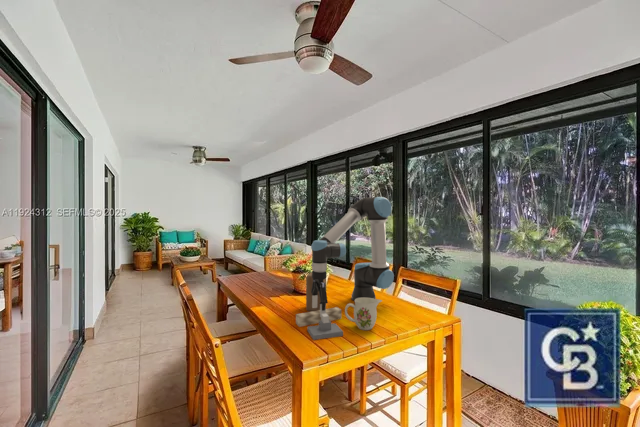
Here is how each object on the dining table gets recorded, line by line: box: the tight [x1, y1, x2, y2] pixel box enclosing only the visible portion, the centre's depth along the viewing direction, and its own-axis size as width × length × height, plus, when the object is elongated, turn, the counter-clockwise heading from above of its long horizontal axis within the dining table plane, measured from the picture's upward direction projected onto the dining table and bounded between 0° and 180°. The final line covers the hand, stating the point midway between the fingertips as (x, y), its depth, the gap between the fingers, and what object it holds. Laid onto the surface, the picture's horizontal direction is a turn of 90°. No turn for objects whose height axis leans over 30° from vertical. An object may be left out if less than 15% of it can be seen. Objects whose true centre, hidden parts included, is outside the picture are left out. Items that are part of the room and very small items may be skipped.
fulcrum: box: [307, 314, 344, 341], centre depth 136 cm, size 14×10×8 cm
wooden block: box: [305, 271, 327, 312], centre depth 169 cm, size 10×10×20 cm
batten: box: [295, 306, 343, 328], centre depth 151 cm, size 24×4×5 cm, turn 117°
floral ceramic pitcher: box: [344, 297, 383, 331], centre depth 143 cm, size 11×18×14 cm, turn 76°
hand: (318, 312), depth 151 cm, fingers open, 13 cm apart
